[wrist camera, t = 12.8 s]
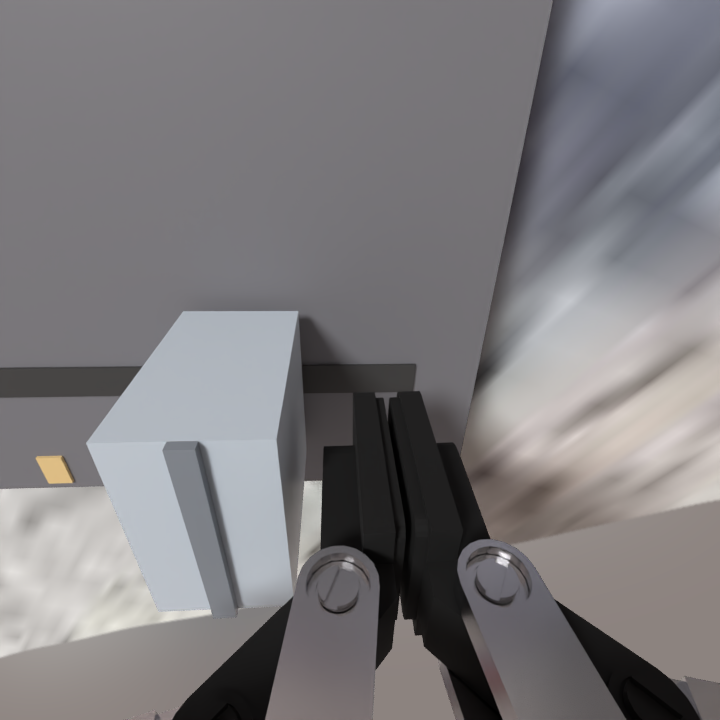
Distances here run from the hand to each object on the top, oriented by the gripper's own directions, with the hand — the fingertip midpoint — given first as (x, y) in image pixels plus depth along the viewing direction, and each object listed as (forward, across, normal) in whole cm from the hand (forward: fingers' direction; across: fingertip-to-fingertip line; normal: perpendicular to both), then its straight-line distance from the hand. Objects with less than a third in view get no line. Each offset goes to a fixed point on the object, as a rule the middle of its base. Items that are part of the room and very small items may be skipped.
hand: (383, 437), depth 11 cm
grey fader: (+2, +4, 0) cm, 4 cm away
